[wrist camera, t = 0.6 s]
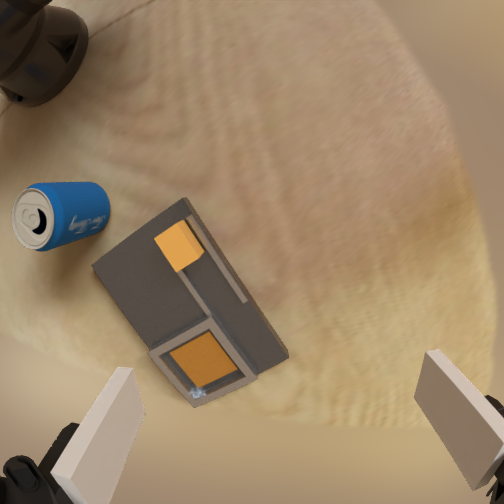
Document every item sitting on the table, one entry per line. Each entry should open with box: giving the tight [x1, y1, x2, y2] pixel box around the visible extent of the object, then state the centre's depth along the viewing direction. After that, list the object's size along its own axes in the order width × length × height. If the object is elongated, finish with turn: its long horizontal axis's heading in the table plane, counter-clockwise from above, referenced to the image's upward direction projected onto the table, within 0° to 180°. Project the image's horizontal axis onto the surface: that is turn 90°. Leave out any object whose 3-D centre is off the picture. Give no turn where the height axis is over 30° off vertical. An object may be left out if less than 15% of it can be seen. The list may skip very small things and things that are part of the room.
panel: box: [91, 197, 289, 408], centre depth 35 cm, size 22×14×4 cm, turn 32°
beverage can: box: [11, 182, 110, 251], centre depth 29 cm, size 6×6×12 cm
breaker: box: [154, 220, 204, 273], centre depth 32 cm, size 4×3×3 cm
